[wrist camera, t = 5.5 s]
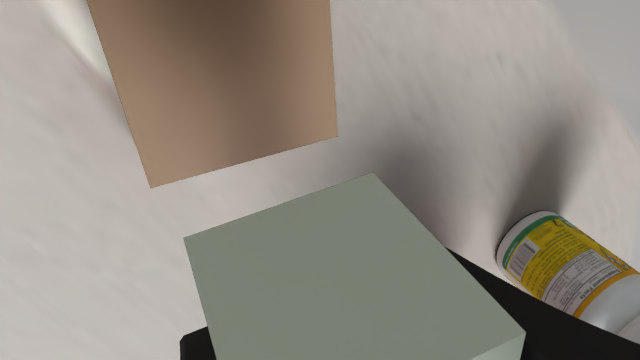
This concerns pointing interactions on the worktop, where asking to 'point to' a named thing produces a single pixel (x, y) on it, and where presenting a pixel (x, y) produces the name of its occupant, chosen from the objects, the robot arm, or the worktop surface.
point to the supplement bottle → (572, 273)
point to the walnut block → (219, 79)
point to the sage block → (343, 285)
